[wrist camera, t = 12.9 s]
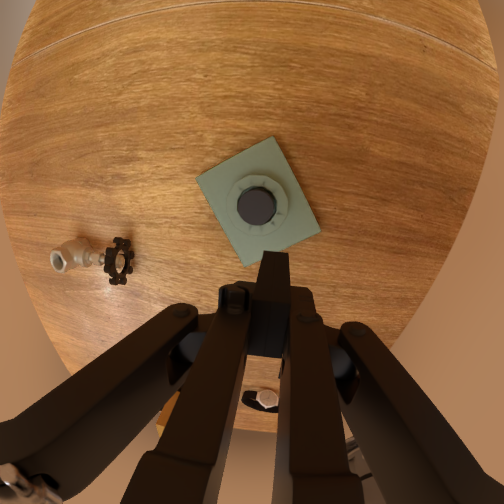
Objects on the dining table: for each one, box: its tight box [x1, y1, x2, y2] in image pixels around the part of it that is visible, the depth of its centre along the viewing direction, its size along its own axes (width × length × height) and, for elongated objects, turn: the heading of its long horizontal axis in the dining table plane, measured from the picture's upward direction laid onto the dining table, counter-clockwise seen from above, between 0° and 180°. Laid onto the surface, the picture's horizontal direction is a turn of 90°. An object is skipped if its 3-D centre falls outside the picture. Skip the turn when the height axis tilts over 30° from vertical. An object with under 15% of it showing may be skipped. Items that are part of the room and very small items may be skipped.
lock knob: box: [156, 391, 180, 437], centre depth 37 cm, size 6×2×8 cm, turn 176°
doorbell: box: [195, 136, 321, 267], centre depth 30 cm, size 12×10×4 cm
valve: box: [50, 237, 134, 285], centre depth 33 cm, size 7×7×12 cm
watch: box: [241, 390, 279, 413], centre depth 40 cm, size 8×5×4 cm, turn 71°
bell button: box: [238, 189, 274, 225], centre depth 28 cm, size 4×4×2 cm
